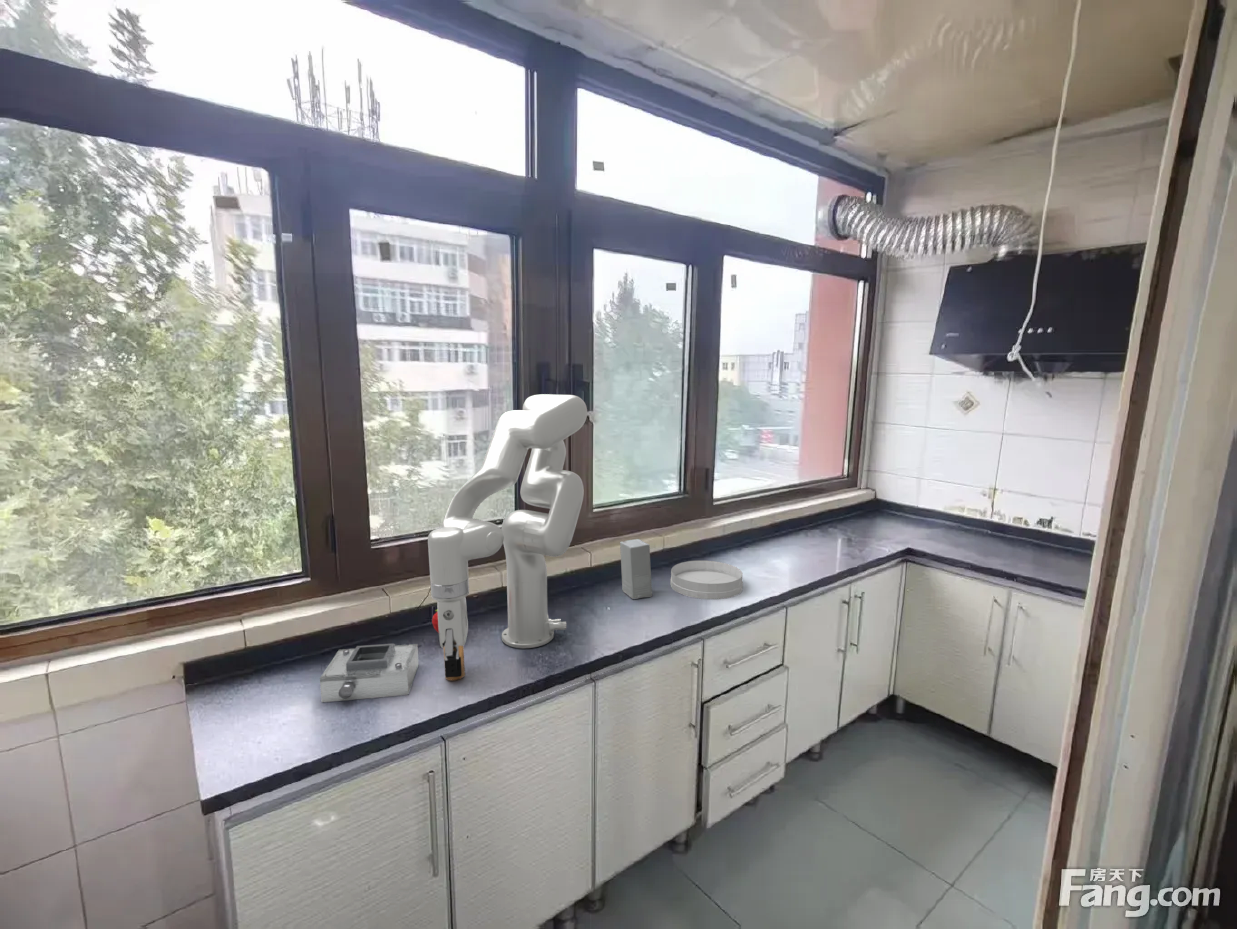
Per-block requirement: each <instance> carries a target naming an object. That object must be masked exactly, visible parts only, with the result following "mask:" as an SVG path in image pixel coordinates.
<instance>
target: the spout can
mask: <svg viewBox="0 0 1237 929" xmlns="http://www.w3.org/2000/svg"><path fill="white" fill-rule="evenodd" d="M453 643H456V641H455V642H453ZM464 649H465V648H464V646H459V657H461V669H462V674H461V676H458V677H448V678H447V677H446V676H445V675H444V676H445V679H446V680H447V681H458V680H461V679H463V678H464V677H465V676H466V672H465V671H466V670H465V669H466V668H465V650H464ZM453 650H455V651H456V648H453ZM444 659H445V647H444V648H443V661H444ZM443 664H444V665H445V661H444V663H443Z"/></svg>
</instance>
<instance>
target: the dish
mask: <svg viewBox="0 0 1237 929" xmlns="http://www.w3.org/2000/svg"><path fill="white" fill-rule="evenodd" d="M670 574H671V575H670V576H671V577H670V582H669V583H670V587H671V589H672V590H673V591H674V592H676V593H678V594H680V595H683V596H686V597H690V598H694V599H699V600H723V599H724V600H725V599H730V598H734V597H736V596H738V595H741V593H742V592H743V587H744V581H743V572H742V570H741V569H740V568H738V567H737V566H735V565H732V564H728V563H725V562H722V561H721V562H720V561H715V560H714V561H713V560H688V561H684V562H679V563H677V564H675V565H673V566H672V568H671V570H670Z"/></svg>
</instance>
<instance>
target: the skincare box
mask: <svg viewBox="0 0 1237 929" xmlns="http://www.w3.org/2000/svg"><path fill="white" fill-rule="evenodd" d="M619 545H620V546H619V547H620V566H621V567H620V568H621V584H622V585H621V588H622V593H625V594H626V595H627V596H628V597H629V598H631V599H632V600H638V599H643V598H651V597H652V596H653V590H652V585H653V584H652V571H651V570H652V569H651V566H652V565H651V552H650V551H651V550H650V549H651V548H650V544H649V543H647V542H645V541H644V540H641V538H636V539H635V538H634V539H628V540H623V541H620V542H619Z"/></svg>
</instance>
